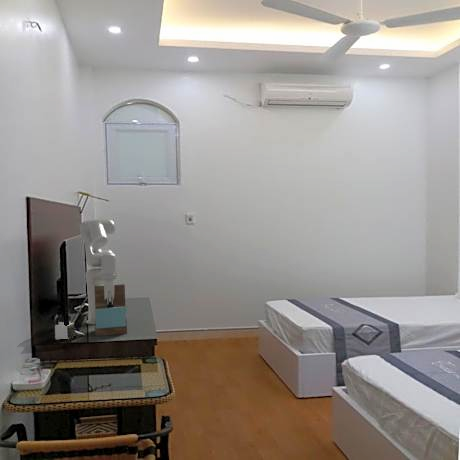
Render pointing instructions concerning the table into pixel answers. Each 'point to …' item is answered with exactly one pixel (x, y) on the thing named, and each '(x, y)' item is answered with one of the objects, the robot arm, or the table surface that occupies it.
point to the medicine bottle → (64, 329)
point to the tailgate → (110, 317)
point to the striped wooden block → (117, 302)
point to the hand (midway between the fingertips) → (110, 312)
